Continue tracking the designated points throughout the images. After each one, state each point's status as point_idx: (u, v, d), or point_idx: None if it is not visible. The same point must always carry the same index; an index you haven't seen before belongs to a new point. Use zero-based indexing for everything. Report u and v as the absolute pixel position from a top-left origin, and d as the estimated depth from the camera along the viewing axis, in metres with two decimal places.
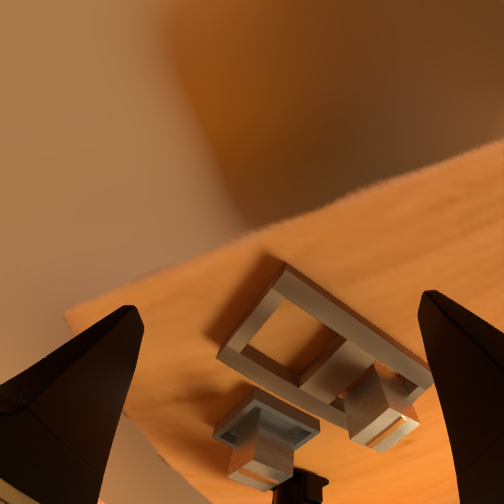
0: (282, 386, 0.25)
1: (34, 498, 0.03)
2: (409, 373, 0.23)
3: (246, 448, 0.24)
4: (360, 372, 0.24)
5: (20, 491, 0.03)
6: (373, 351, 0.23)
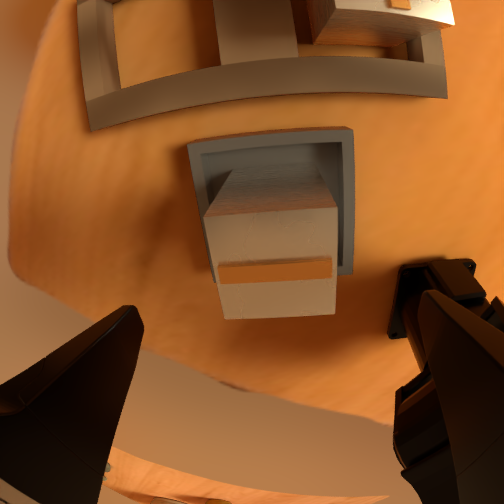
0: (195, 83, 0.13)
1: (34, 498, 0.03)
2: None
3: None
4: None
5: (20, 491, 0.03)
6: None
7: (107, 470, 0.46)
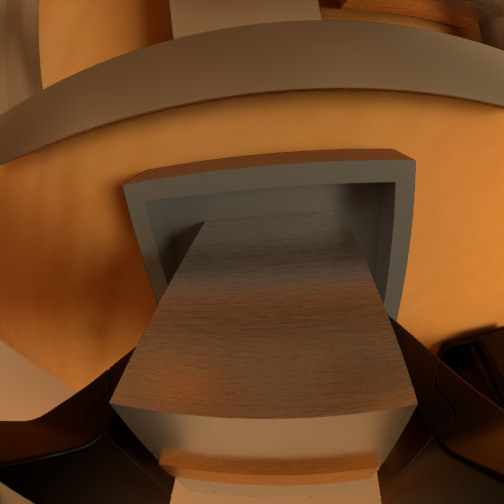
0: (130, 76, 0.06)
1: None
2: None
3: None
4: None
5: None
6: None
7: None
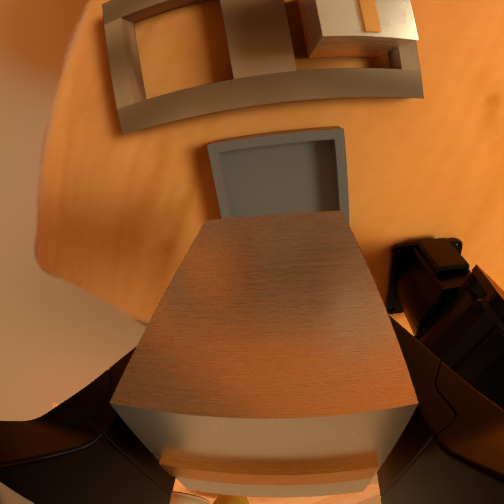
0: (213, 94, 0.16)
1: None
2: None
3: None
4: (280, 3, 0.13)
5: None
6: None
7: None
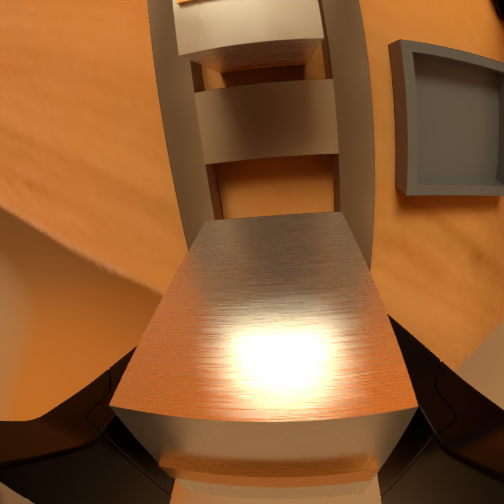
0: (353, 179, 0.14)
1: None
2: (173, 19, 0.11)
3: None
4: (234, 91, 0.12)
5: None
6: (188, 111, 0.13)
7: None
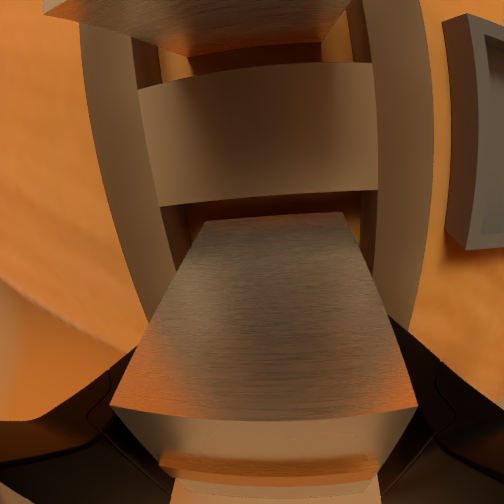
0: (397, 231, 0.08)
1: None
2: None
3: None
4: (202, 82, 0.07)
5: None
6: (129, 120, 0.08)
7: None
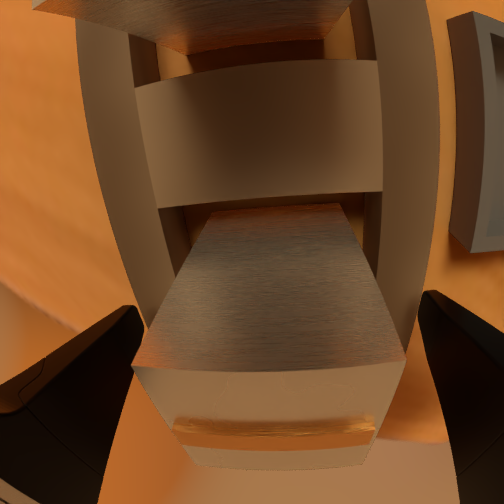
0: (401, 233, 0.08)
1: (34, 498, 0.03)
2: None
3: None
4: (201, 80, 0.07)
5: (20, 491, 0.03)
6: (126, 119, 0.07)
7: None
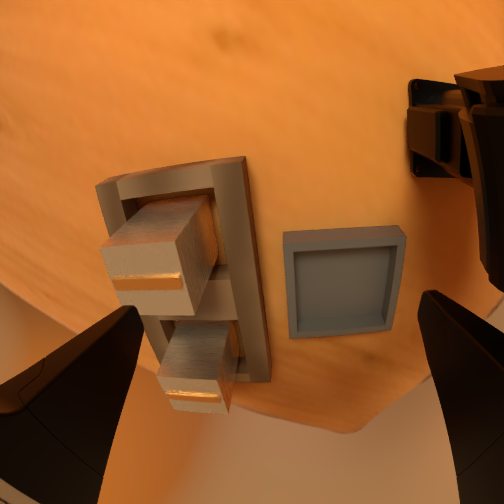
0: (249, 332, 0.23)
1: (34, 498, 0.03)
2: None
3: None
4: None
5: (20, 491, 0.03)
6: None
7: None
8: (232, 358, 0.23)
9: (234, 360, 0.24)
